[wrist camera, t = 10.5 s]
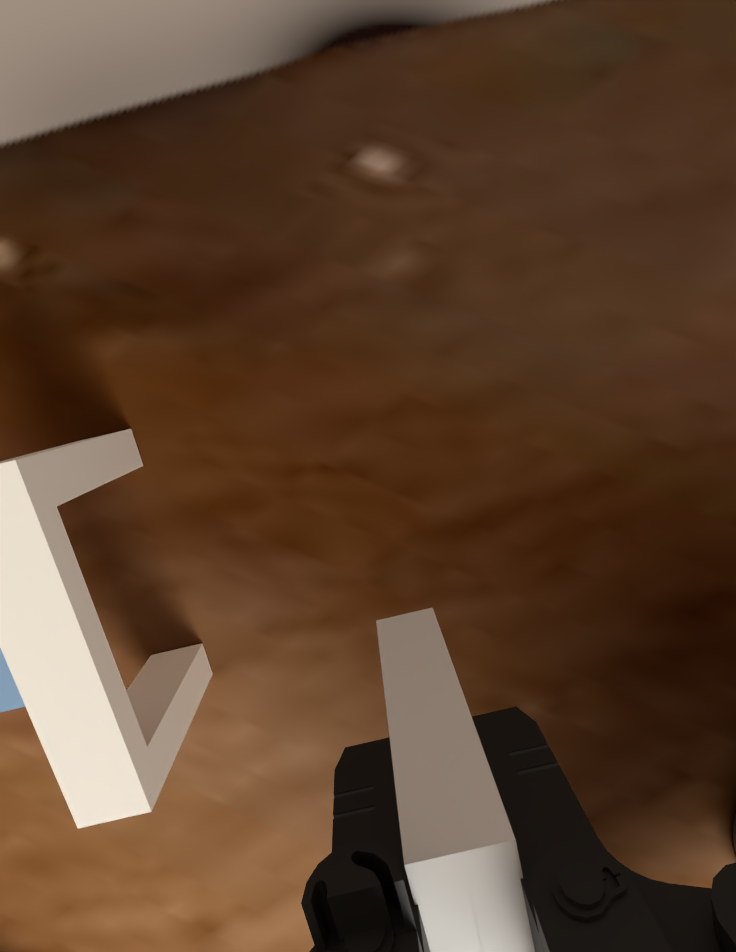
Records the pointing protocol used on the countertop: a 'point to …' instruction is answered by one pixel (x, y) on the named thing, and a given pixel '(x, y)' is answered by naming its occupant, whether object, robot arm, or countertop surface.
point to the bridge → (84, 643)
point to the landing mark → (8, 688)
